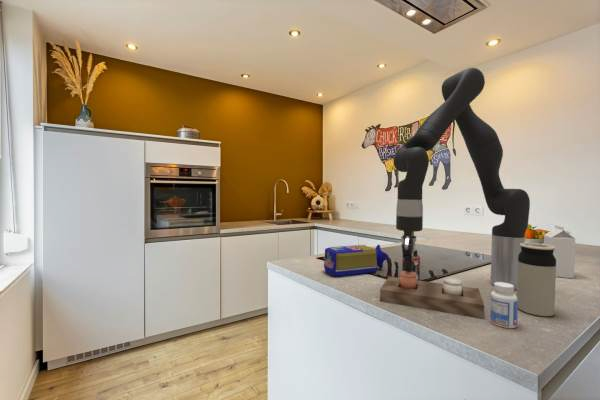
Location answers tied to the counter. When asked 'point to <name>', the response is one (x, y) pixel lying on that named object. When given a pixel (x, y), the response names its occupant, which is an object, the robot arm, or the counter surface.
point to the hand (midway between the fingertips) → (408, 271)
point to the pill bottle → (504, 305)
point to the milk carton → (562, 251)
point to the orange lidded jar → (408, 280)
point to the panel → (433, 297)
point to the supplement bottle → (415, 265)
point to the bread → (353, 260)
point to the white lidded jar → (452, 286)
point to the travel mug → (536, 279)
